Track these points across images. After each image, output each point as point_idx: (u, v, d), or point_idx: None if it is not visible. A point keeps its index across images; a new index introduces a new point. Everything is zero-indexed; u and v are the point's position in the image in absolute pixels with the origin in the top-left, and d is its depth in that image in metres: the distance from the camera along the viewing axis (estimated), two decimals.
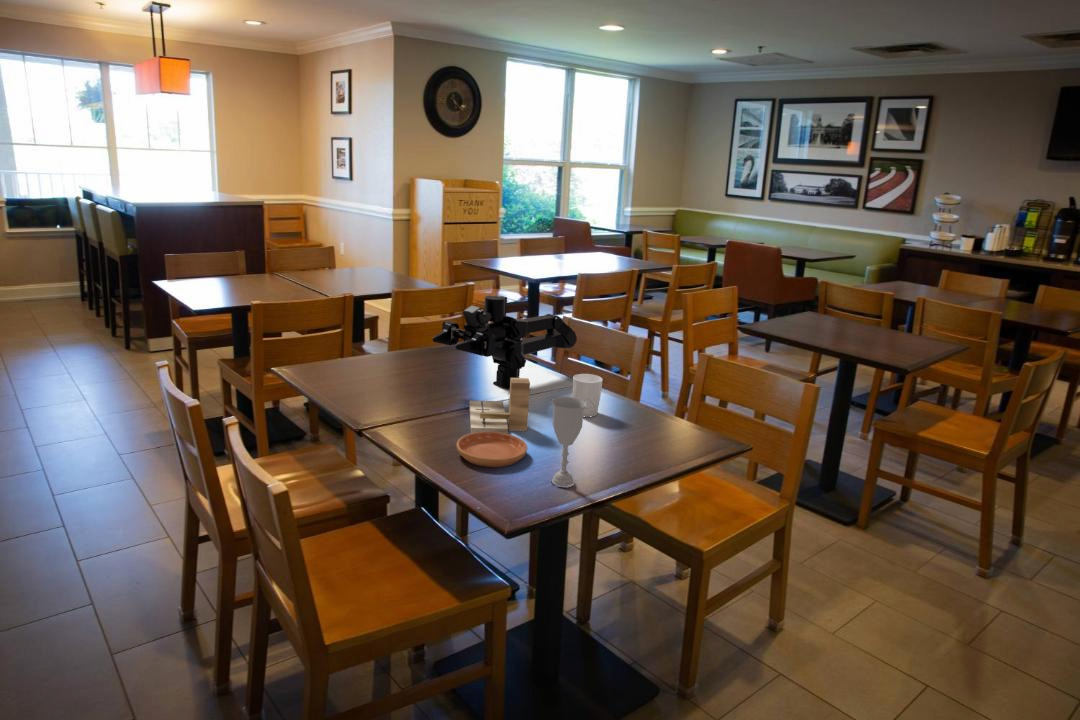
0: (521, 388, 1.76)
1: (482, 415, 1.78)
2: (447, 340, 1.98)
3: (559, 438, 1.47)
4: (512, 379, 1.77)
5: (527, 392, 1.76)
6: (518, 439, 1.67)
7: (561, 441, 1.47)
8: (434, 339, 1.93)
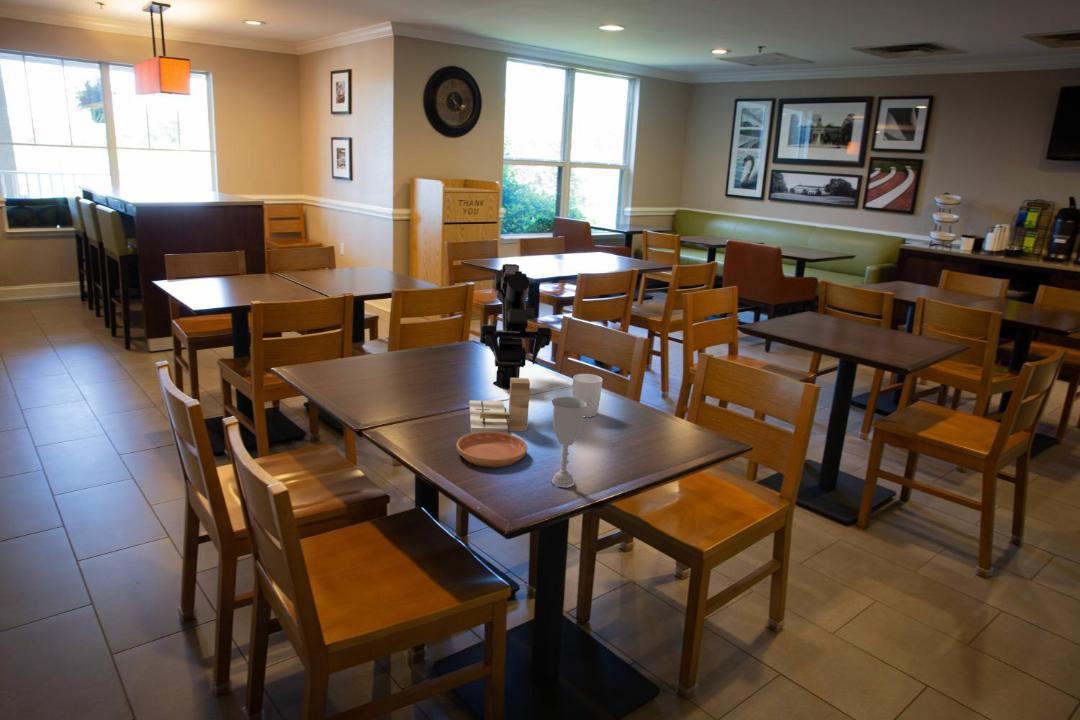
0: (521, 388, 1.76)
1: (482, 415, 1.78)
2: None
3: (559, 438, 1.47)
4: (512, 379, 1.77)
5: (527, 392, 1.76)
6: (518, 439, 1.67)
7: (561, 441, 1.47)
8: (499, 361, 1.87)
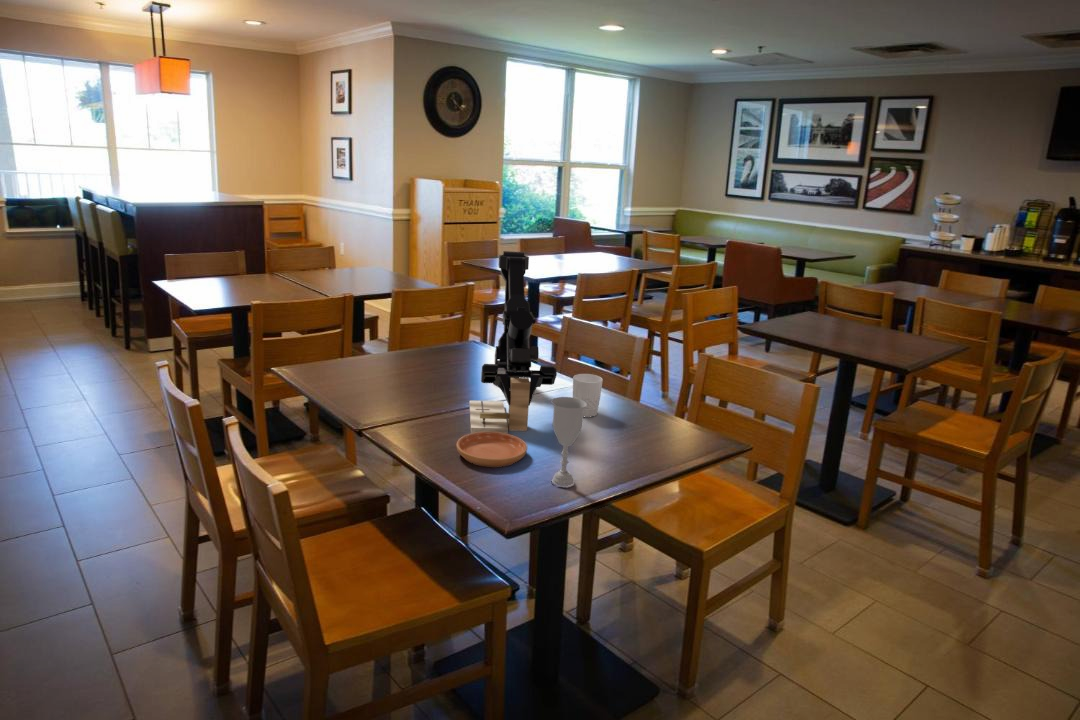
0: (521, 388, 1.76)
1: (482, 415, 1.78)
2: None
3: (559, 438, 1.47)
4: (512, 379, 1.77)
5: (527, 392, 1.76)
6: (518, 439, 1.67)
7: (561, 441, 1.47)
8: None
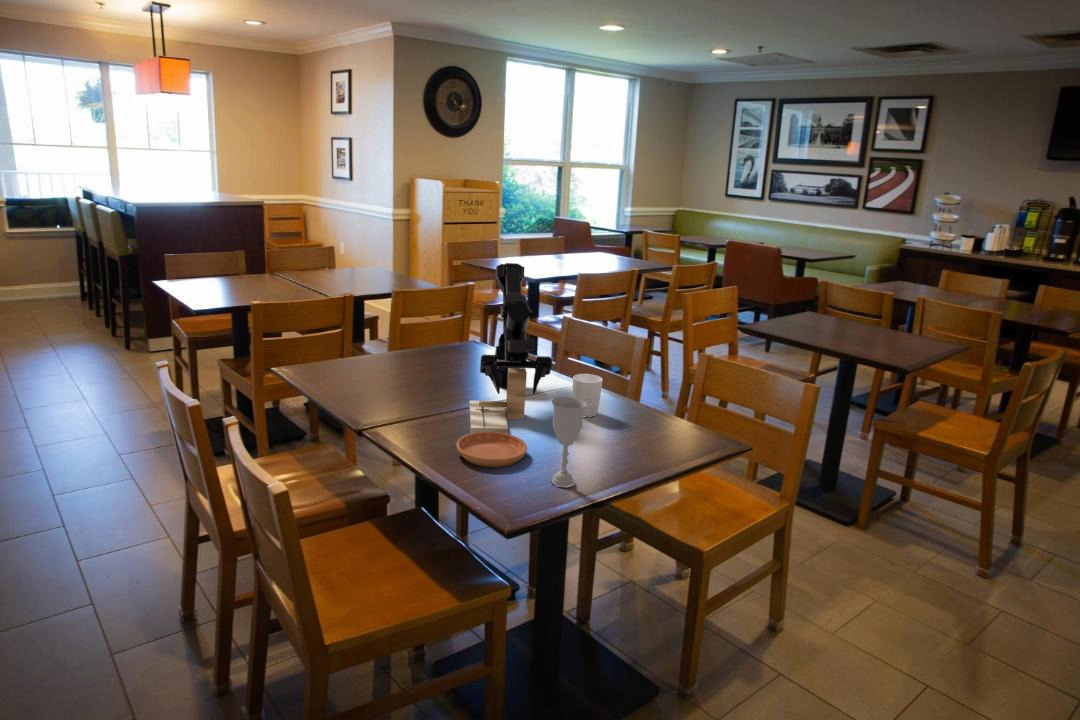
0: (518, 378, 1.84)
1: (481, 403, 1.86)
2: None
3: (559, 438, 1.47)
4: (509, 369, 1.86)
5: (524, 381, 1.84)
6: (518, 439, 1.67)
7: (561, 441, 1.47)
8: (499, 391, 1.85)
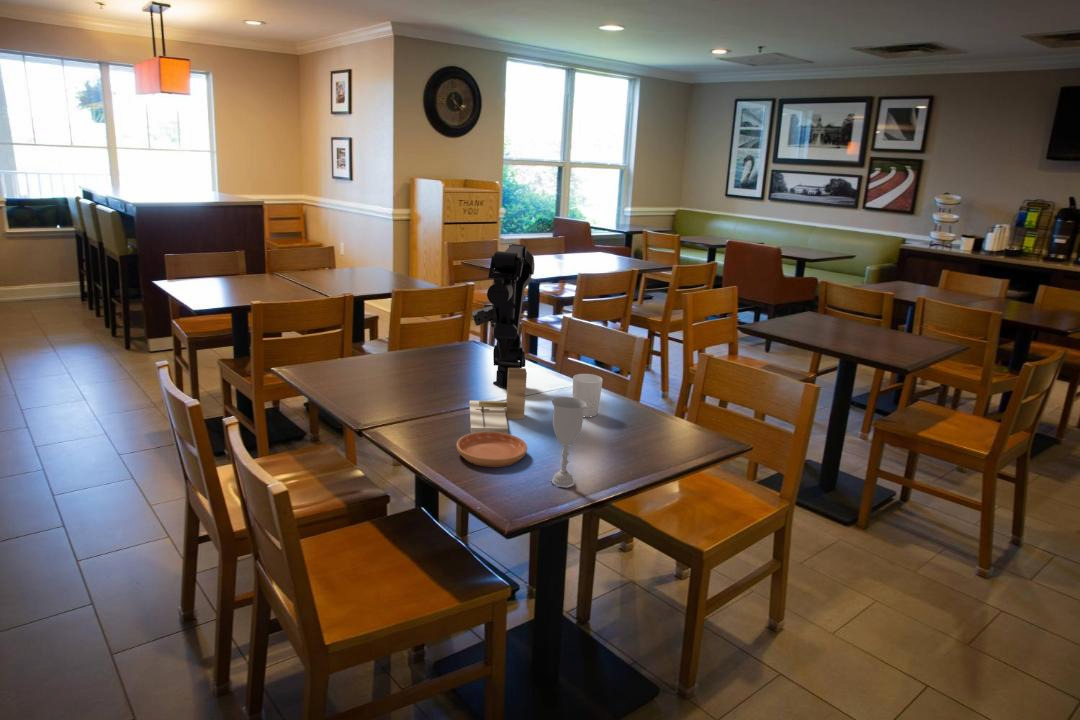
0: (518, 378, 1.84)
1: (481, 403, 1.86)
2: None
3: (559, 438, 1.47)
4: (510, 369, 1.86)
5: (524, 381, 1.84)
6: (518, 439, 1.67)
7: (561, 441, 1.47)
8: None
